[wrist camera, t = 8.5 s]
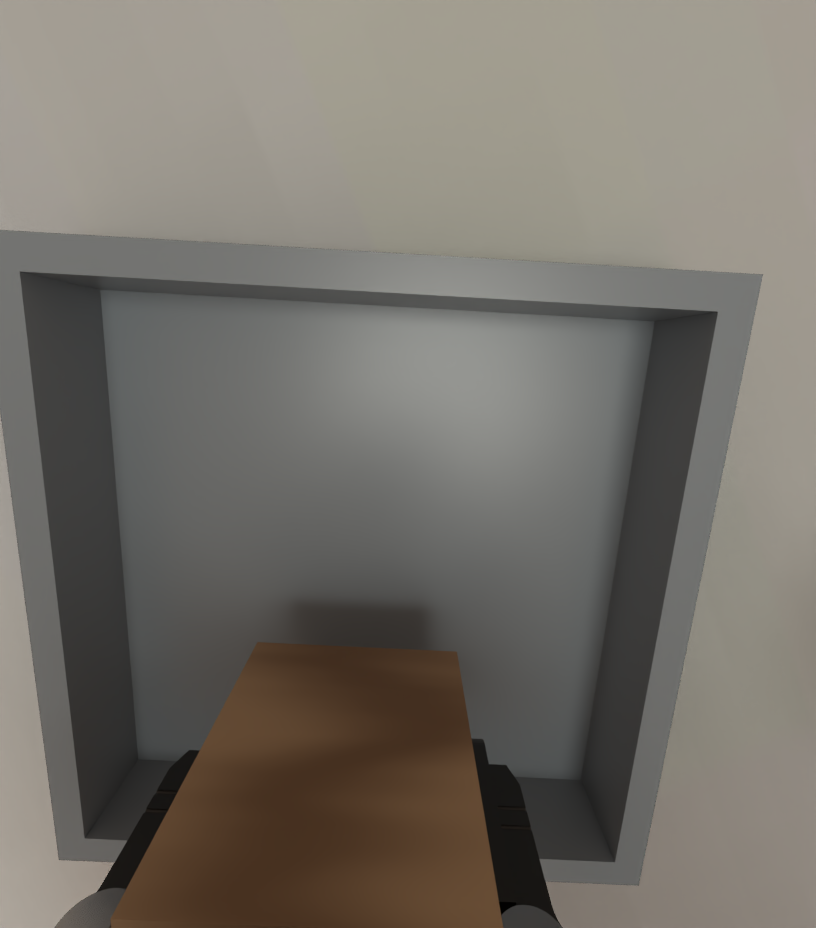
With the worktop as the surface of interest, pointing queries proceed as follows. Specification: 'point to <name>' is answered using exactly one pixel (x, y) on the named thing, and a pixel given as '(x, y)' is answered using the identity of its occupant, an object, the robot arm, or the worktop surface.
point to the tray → (364, 502)
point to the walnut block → (326, 802)
